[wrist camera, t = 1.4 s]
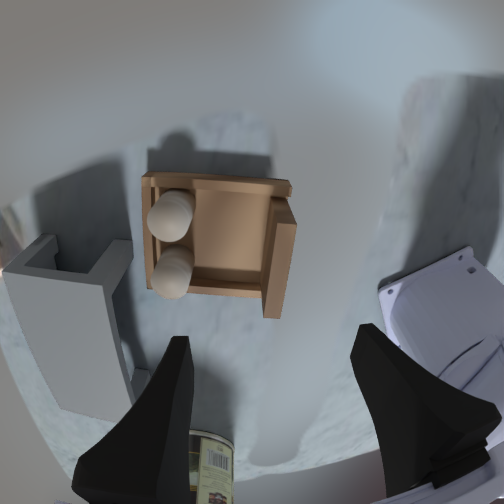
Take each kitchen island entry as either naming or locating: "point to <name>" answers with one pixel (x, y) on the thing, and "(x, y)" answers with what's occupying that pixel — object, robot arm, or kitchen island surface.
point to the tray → (218, 236)
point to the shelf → (75, 328)
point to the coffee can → (210, 468)
